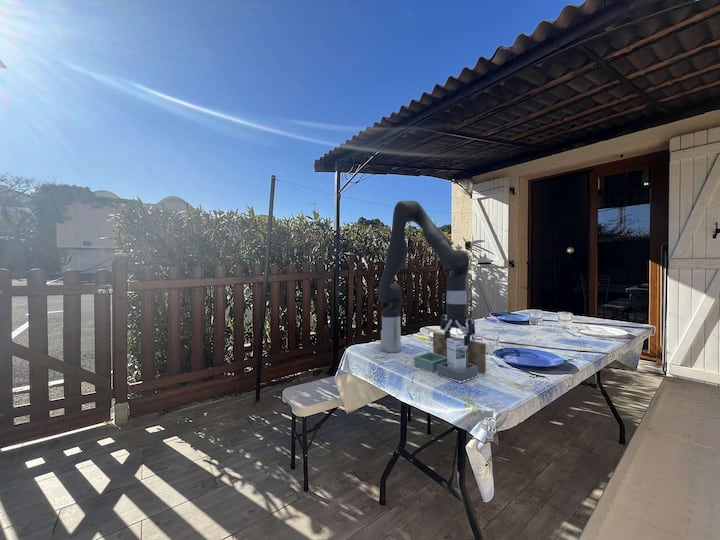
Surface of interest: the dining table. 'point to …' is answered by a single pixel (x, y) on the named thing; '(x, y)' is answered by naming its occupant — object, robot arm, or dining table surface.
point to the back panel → (474, 350)
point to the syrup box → (457, 354)
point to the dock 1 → (429, 361)
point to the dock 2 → (457, 372)
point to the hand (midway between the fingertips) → (457, 343)
